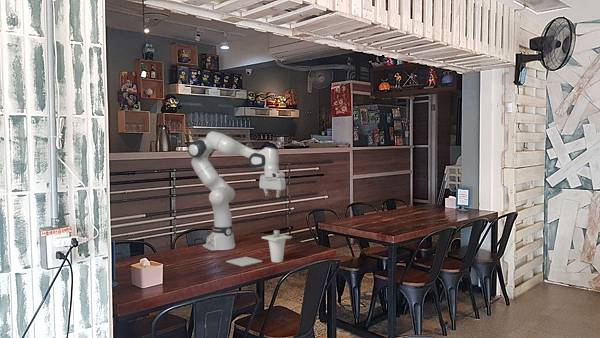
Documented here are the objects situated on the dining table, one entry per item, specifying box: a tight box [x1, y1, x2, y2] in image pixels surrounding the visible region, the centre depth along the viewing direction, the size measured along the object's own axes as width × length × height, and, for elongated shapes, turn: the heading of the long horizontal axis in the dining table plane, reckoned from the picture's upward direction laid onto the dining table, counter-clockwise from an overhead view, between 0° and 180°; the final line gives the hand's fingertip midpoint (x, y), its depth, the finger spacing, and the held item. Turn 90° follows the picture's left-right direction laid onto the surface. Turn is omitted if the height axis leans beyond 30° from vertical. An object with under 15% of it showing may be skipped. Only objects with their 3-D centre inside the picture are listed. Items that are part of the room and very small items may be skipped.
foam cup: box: [267, 239, 286, 263], centre depth 277 cm, size 10×9×13 cm
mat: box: [225, 256, 263, 267], centre depth 276 cm, size 15×14×1 cm
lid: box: [261, 229, 293, 241], centre depth 276 cm, size 12×12×4 cm
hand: (272, 196), depth 294 cm, fingers open, 8 cm apart
